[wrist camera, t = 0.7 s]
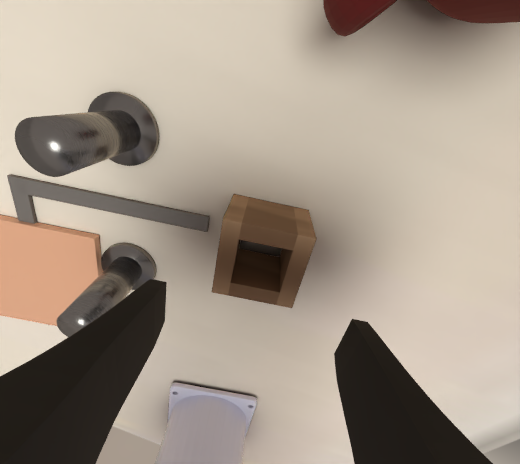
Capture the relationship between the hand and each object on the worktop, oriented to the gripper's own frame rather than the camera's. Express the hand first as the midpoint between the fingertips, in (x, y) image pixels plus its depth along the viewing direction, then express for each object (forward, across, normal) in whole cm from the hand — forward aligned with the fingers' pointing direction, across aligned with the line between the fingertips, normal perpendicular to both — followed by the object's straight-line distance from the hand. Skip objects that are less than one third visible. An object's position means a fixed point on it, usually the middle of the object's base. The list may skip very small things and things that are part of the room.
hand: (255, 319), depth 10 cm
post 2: (+7, +8, +5) cm, 12 cm away
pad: (+7, +15, +7) cm, 18 cm away
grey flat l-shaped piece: (+7, +9, +1) cm, 12 cm away
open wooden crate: (+7, 0, 0) cm, 7 cm away
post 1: (+7, +8, -4) cm, 12 cm away
